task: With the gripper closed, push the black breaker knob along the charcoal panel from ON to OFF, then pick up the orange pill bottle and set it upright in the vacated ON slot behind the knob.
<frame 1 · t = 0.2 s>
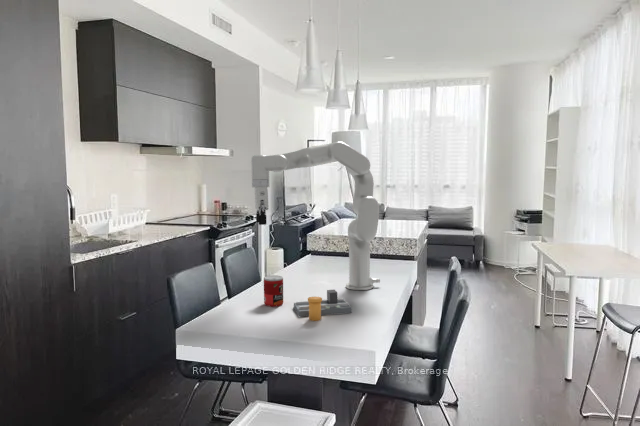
hand: (261, 223, 201), 31 cm above the table, fingers open, 9 cm apart
canned food: (273, 304, 187), on the table
orange pill bottle: (315, 319, 168), on the table
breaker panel: (322, 310, 178), on the table
breaker knob: (332, 297, 179), point 5 cm above the table, slide at 0.0 cm
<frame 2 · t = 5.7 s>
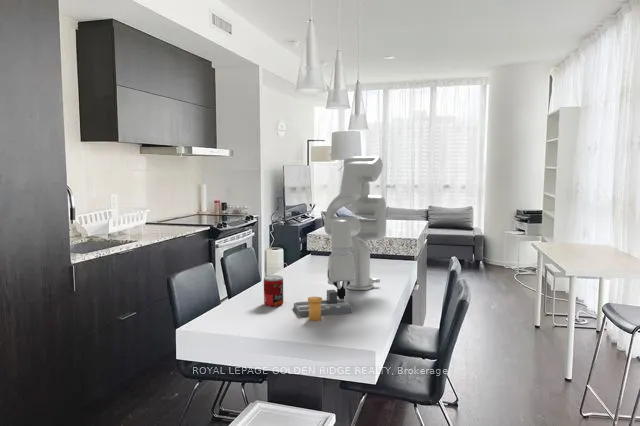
hand: (341, 298, 180), 4 cm above the table, fingers closed
breaker knob: (331, 297, 179), point 5 cm above the table, slide at 0.1 cm, touching gripper
everything else where it was.
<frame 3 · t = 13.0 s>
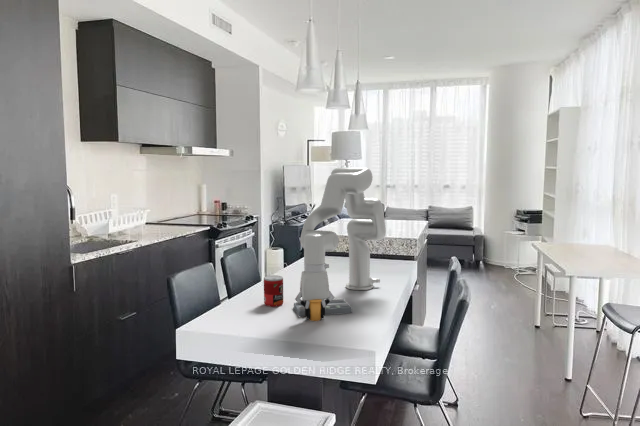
hand: (314, 317, 168), 1 cm above the table, fingers closed on orange pill bottle, 4 cm apart
orange pill bottle: (315, 319, 168), on the table, touching gripper
breaker knob: (307, 299, 177), point 5 cm above the table, slide at 9.8 cm
everything else where it was.
when the fingers open (4 cm above the table, at t = 18.4 s): orange pill bottle drops 1 cm, resting on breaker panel.
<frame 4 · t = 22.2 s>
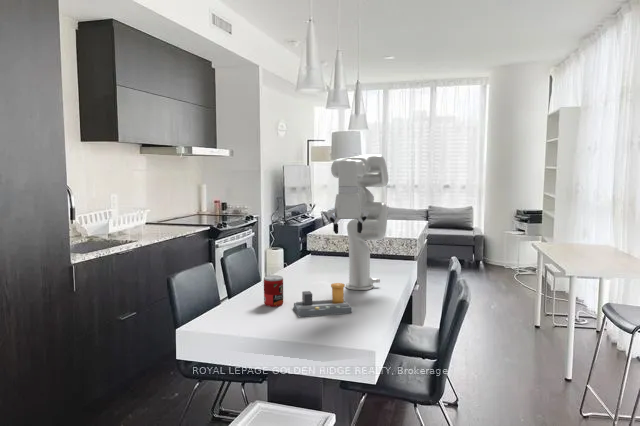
hand: (347, 233, 188), 28 cm above the table, fingers open, 9 cm apart
orange pill bottle: (337, 303, 180), point 2 cm above the table, touching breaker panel
everything else where it was.
at the end: breaker knob slide at 9.8 cm; orange pill bottle 0.8 cm from the target spot on the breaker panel, point 2.0 cm above the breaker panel's base; orange pill bottle tilted 1° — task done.
